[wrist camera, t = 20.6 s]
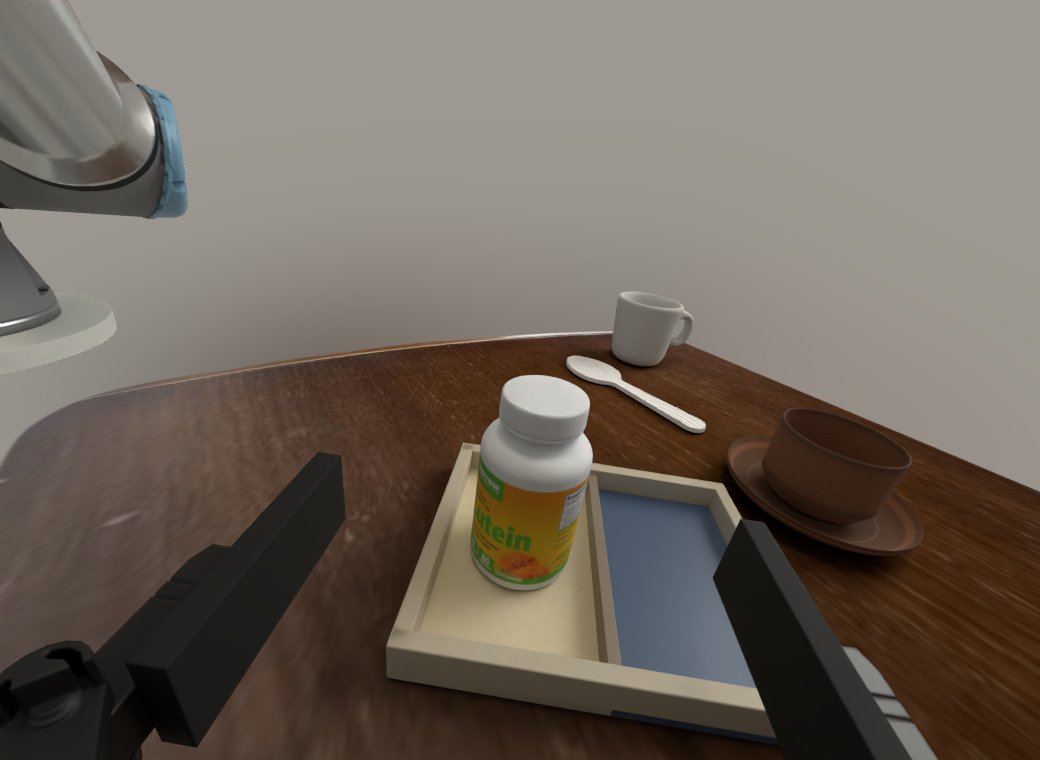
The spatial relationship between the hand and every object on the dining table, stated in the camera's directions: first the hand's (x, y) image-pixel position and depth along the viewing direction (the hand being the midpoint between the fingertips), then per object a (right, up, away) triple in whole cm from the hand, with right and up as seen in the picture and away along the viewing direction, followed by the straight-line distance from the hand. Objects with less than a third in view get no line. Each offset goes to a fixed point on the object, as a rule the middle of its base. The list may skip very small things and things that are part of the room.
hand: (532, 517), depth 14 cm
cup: (+16, +7, +41) cm, 44 cm away
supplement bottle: (0, -5, +9) cm, 10 cm away
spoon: (+11, +3, +31) cm, 33 cm away
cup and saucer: (+21, -5, +17) cm, 27 cm away
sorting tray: (+4, -6, +9) cm, 11 cm away
